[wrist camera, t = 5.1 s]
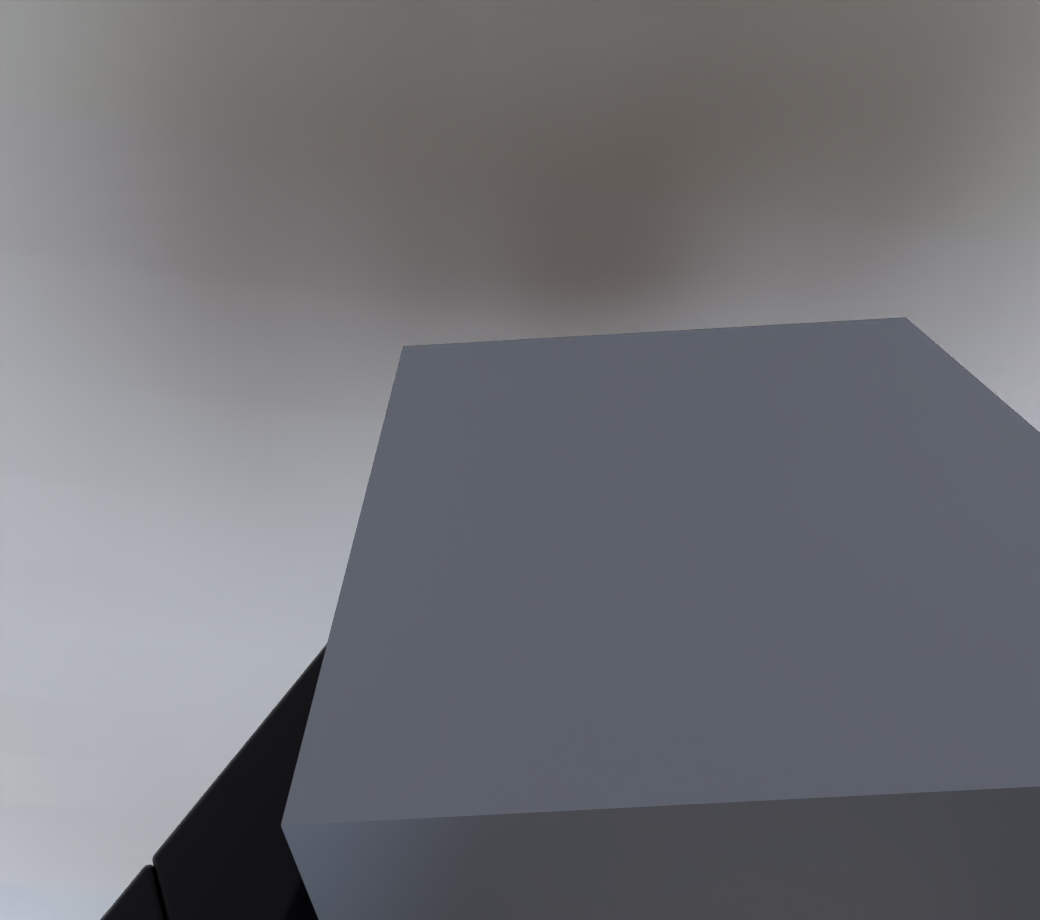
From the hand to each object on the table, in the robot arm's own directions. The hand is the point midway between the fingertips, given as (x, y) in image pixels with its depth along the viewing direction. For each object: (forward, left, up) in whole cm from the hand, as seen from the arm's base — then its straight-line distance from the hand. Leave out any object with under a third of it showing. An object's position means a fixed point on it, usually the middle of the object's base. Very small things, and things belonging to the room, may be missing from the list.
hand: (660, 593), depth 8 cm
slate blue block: (0, 0, -1) cm, 1 cm away
